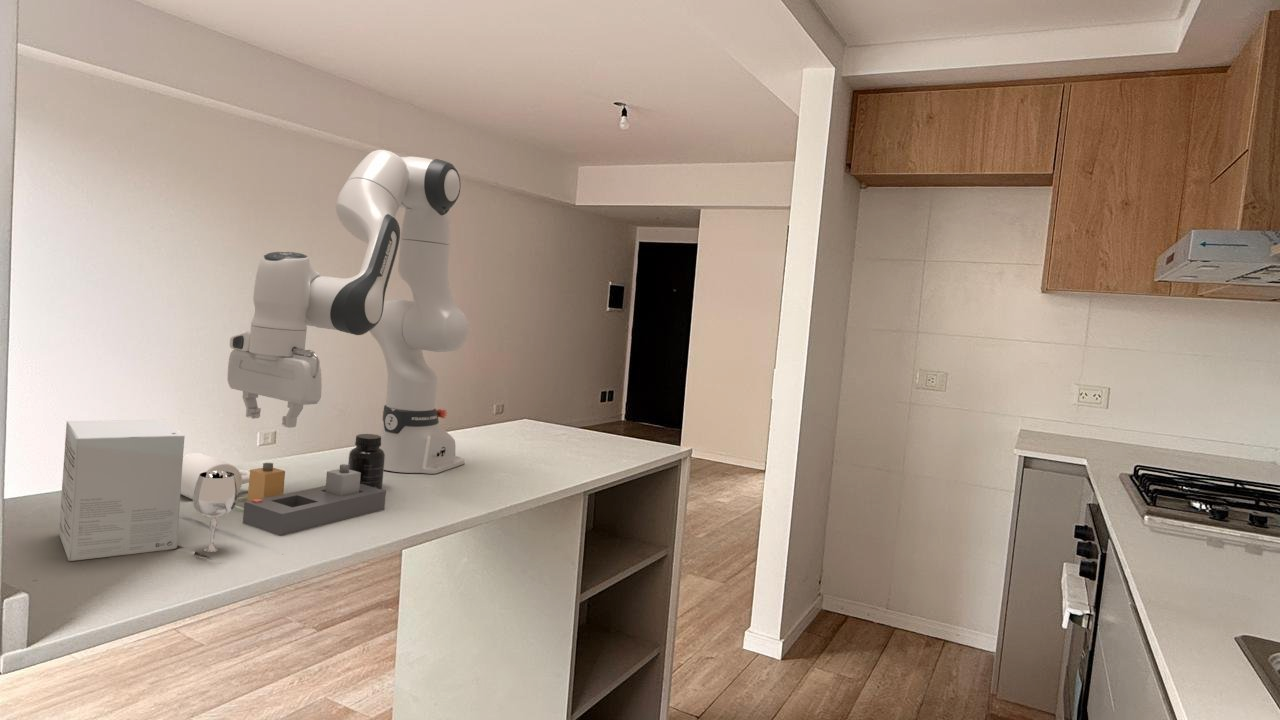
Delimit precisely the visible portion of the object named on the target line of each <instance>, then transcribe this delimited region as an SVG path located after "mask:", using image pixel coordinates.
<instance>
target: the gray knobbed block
mask: <svg viewBox="0 0 1280 720" xmlns="http://www.w3.org/2000/svg"><path fill="white" fill-rule="evenodd" d="M360 477H361V472H357V471H353V470H350V469H349V465H348V464H346V463H343V464H340V465H339V469H333V470H328V471H326V480H325V486H326V490H325V492H327V493H330V494H334V495H337V496H340V497H342V496H347V495H352V494H356V493H359V488H360Z"/></svg>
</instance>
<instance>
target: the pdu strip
mask: <svg viewBox="0 0 1280 720" xmlns="http://www.w3.org/2000/svg"><path fill="white" fill-rule="evenodd" d="M325 490H326V485H324V486H323V485H322V486H317V487H313V488H308V489H303V490H298V491H292V492H287V493H285V494H281V495H276V496H271V497H266V498H261V499H254V500H251V501H248V500H245V501H243V502H244V504H243V508H244V513H243V515H242V516H243V517H242V524H244V525H248V526H250V527H253V528H256V529H259V530H262V531H265V532H268V533H269V534H273V535H276V536H280V537H282V536H286V535H290V534H294V533H298V532H300V531H301V532H302V531H305V530H309V529H310V530H311V529H314V528H319V527H322V526H325V525H330V524H333V523H337V522H342V521H345V520H348V519H349V520H350V519H353V518H356V517H361V516H366V515H369V514H372V513H373V514H374V513H376V512H380V511H384V510H385V506H386V505H385V504H386V496H387V495H386V493H387V490H385V489H378V488H374V487H371V486H367V485H364V484H360V488H359V493H356V494H352V495H347V496H342V497H340V496H337V495H334V494H330V493H327V492H325Z"/></svg>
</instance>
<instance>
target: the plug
mask: <svg viewBox="0 0 1280 720" xmlns="http://www.w3.org/2000/svg"><path fill="white" fill-rule="evenodd" d="M249 472H250V476H249V483H248V490H247V492H248V493H247V496H248V500H247V501H251V500H254V499H261V498H266V497H271V496H276V495H281V494H283V493H284V488H285V479H286V478H285V476H286V471H285V470H282V469H280V468H276V467H274V463H273V462H263V463H262V467H259V468H252V469H250V470H249Z"/></svg>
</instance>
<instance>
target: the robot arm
mask: <svg viewBox="0 0 1280 720" xmlns="http://www.w3.org/2000/svg"><path fill="white" fill-rule="evenodd" d="M461 188H462V187H461V178H460V174H459V172H458V170H457V169H456V167H455V165H453V164H452V163H450V162H448V161H445V160H443V159H438V158H435V159H431V158H427V157H422V156H421V157H420V156H412V155H411V156H410V155H409V156H400V155H398V154H396V153H394V152H393V151H389V150H387V149H378V150H377V149H376V150H374V151H371V152H370V153H368V154H367V155H366V156H365V157H364V158H363V159H362V160H361V161H360V162H359V163H358V165H356V167H355V168H354V170H352V172H351V173H350V175H349V177H348V178H347V180H346V182H345V183H344V185H343V187H342V188H341V189H340V192H339V194H338V196H337V199H336V203H335V211H336V215H337V218H338V220H339V221H340V223H341V225H342V226H343V227H344V229H345V230H347V231H348V232H349V233H350V234H351V235H352V236H354V237H355V238H357V240H360V241H363V242H364V243H366V244H367V248H366V251H365V254H364V257H363V261H362V263H361V267H360V270H359V272H358V273H357V274H356V275H354V276H351V277H347V278H344V277H343V278H342V277H336V276H329V275H322V274H321V273H320V272H318V271H317V270H315V269H314V268H313V266H311V263H310V258H309V256H308V255H306V254H304V253H300V252H295V251H294V252H293V251H273V252H269V253H266V254H265V255H263V256H262V257H261V259H260V261H259V264H258V267H257V270H256V273H255V281H254V287H253V288H254V289H253V305H254V313H253V317H252V320H251V322H250V330H249V331H246V332H243V333H239V334H235V335H232V336H231V337H230V338H229V348H230V349H232V350H231V352H230V354H229V356H228V363H227V365H228V366H227V383H228V386H229V388H230V389H231V390H235V391H236V390H237V391H241V392H242V400H243V403H244V406H245V408H246V409H245V410H246V411H245V417H246V418H249V419H260V417H261V409H262V408H260V407H258V402H257V401H258V400H257V398H259V396H263V397H267V398H271V399H276V400H280V401H284V402H287V405H286V406H287V408H288V410H287V414H286V415H284V416H282V419H281V420H282V422H281V425H282V427H285V428H288V429H289V428H290V429H291V428H295V427H296V426H297V422H298V417H299V416H300V414H301V412H302V411H303V409H304V406H305V405H308V406H309V405H317V404H319V402H320V401H321V398H322V383H323V381H322V369H321V365H320V362H321V361H320V358H319V357H318V356H317V354H316V353H315V351H314V350H311V349H306V342H307V341H306V339H307V328H308V326H310V327H315V328H320V329H325V330H326V329H327V330H334V331H339V332H343V333H347V334H351V335H355V336H362V335H364V334H367V333H368V332H369V333H370V334H371V336H372V337H373V338H374V340H376V342H377V343H378V345H379V347H380V349H381V351H382V354H383V357H384V359H385V365H386V371H387V382H386V383H387V385H386V387H387V388H386V401H385V402H386V403H385V405H384V406H383V410H382V422H383V426H382V427H381V431H380V435H379V436H381V446H380V447H379V448H380V449H381V450H383V452H384V454H385V460H384V471H389V472H395V473H396V472H397V473H405V474H406V473H408V474H410V473H411V474H413V473H414V474H416V473H417V474H427V475H428V474H429V475H430V474H431V475H435V474H438V473H439V474H440V473H441V472H444V471H447V470H450V469H453V468H457V467H459V466H462V465H464V464H465V459H464V458H462V457H459V456H458V455H456V446H457V445H456V440H455V438H454V437H453V436H452V435H451V434H450V433H448V431H446V430H445V428H443V427H442V426H441V424H439V422H440V421H439V418H441V419H446V417H447V414H448V412H447V410H445V409H441V408H439V409H436V408H435V406H436V396H437V387H438V386H437V385H438V378H437V374H436V373H435V370H433V369H432V368H431V367H430V366H429V365H428V364H427V362H426V360H425V357H424V353H423V352H424V351H427V352H428V351H429V352H434V353H445V352H456V351H457V350H460V349H461V348H462V347H463V346H464V344H465V343H466V341H467V339H468V337H469V333H470V324H469V320H468V319H467V317H466V315H465V313H464V312H463V311H462V310H461V309H460V308H459V306H458V305H457V303H456V301H455V299H454V296H453V294H452V291H451V287H450V283H449V260H450V259H449V257H450V243H451V221H450V219H451V217H450V209H452V208H453V206H454V205H455V204H456V202H457V201H458V198H459V196H460V193H461ZM399 208H403V209H405V210H404V214H403V219H402V224H401V229H400V223H399V222H398V220H397V219H396V214H398V213H397V212H398V211H399ZM398 249H399V251H398ZM397 253H398V263H397V264H398V265H397V272H398V274H399V277H400V279H402V280H403V282H405V283H406V284H407V285H408V286H409V288H410V291H411V293H412V298H413V300H406V299H396V298H395V299H387V300H385V296H386V292H387V291H386V290H387V288H388V284H389V281H390V277H391V274H392V270H393V267H394V263H395V260H396V256H397Z"/></svg>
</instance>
